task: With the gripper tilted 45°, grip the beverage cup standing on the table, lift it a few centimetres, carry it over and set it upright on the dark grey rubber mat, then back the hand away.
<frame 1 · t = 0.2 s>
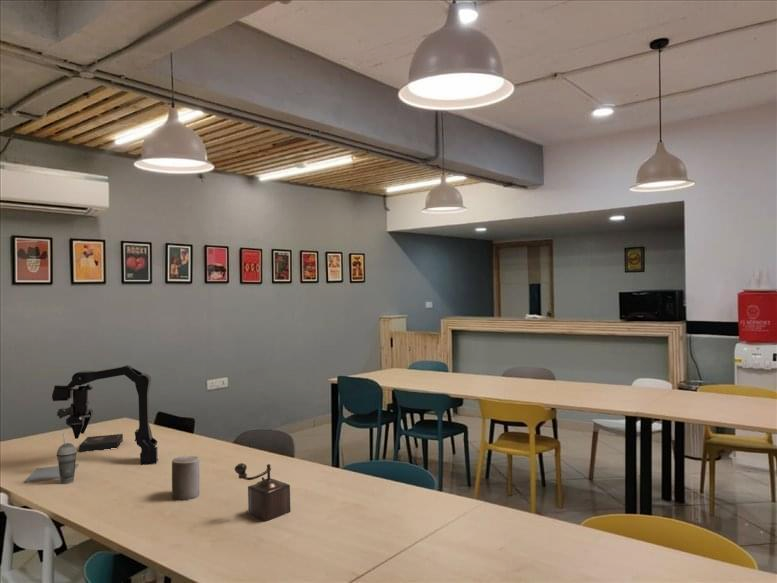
hand: (79, 436, 236), 14 cm above the table, tool pointing down, fingers open, 9 cm apart
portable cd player: (101, 447, 273), on the table
rubber mat: (52, 473, 231), on the table
pillar candle: (186, 496, 200), on the table
beverage cup: (67, 482, 219), on the table
manual coffee grinder: (262, 515, 181), on the table
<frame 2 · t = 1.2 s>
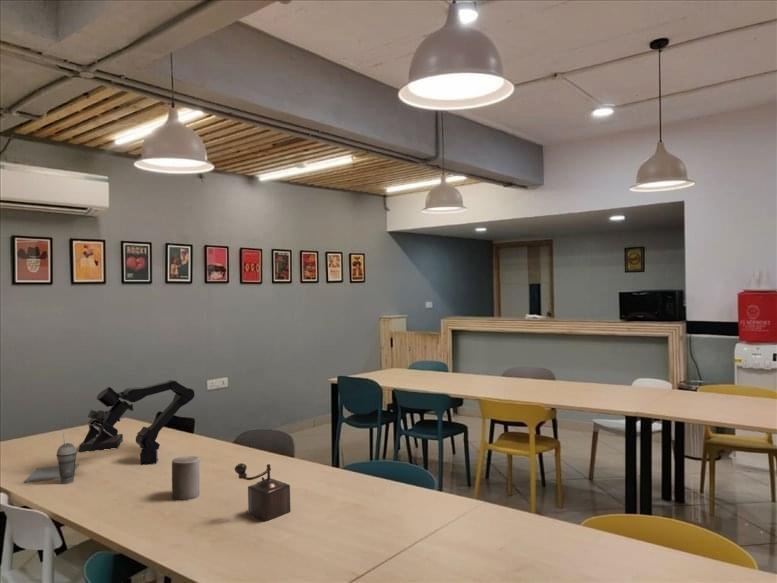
hand: (88, 444, 225), 13 cm above the table, tool tilted 45°, fingers open, 9 cm apart
nothing on the table moved.
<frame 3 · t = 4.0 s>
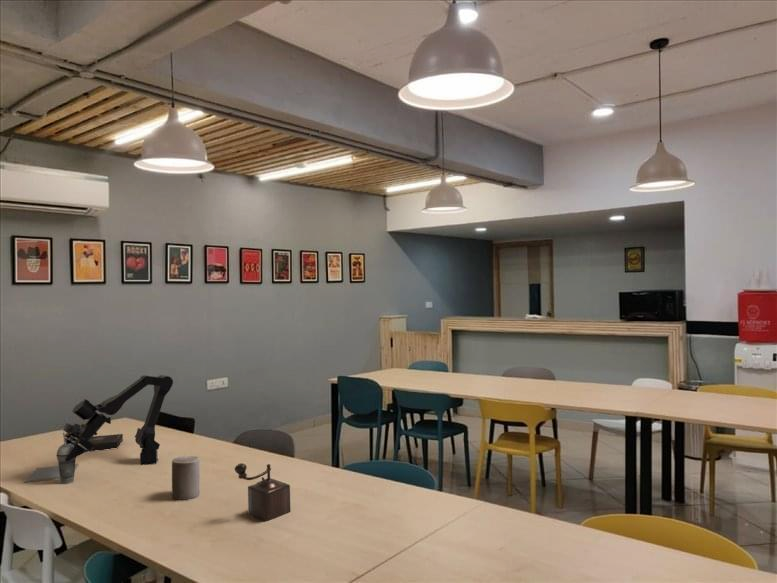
hand: (63, 459, 218), 10 cm above the table, tool tilted 45°, fingers closed on beverage cup, 7 cm apart
beverage cup: (67, 482, 219), on the table, touching gripper
everything else where it was.
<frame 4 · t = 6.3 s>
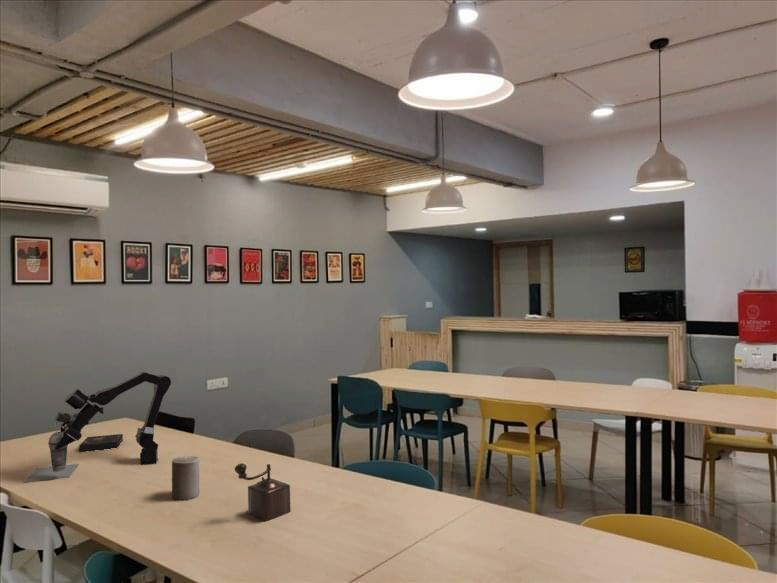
hand: (54, 447, 222), 13 cm above the table, tool tilted 45°, fingers closed on beverage cup, 7 cm apart
beverage cup: (59, 470, 223), point 4 cm above the table, touching gripper
everything else where it was.
when the fingers open (11 cm above the table, at t = 8.9 s): beverage cup stays where it is, resting on rubber mat.
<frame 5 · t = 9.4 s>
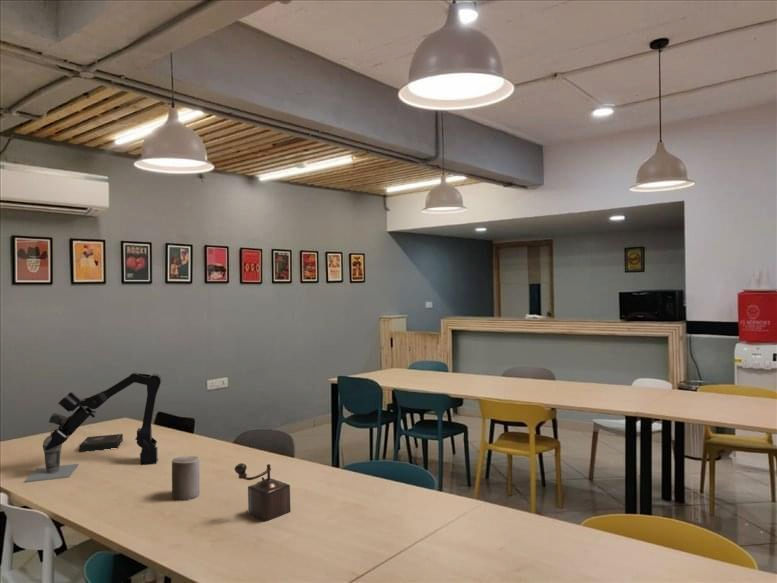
hand: (48, 447, 231), 11 cm above the table, tool tilted 45°, fingers open, 9 cm apart
beverage cup: (52, 472, 231), resting on rubber mat
everything else where it was.
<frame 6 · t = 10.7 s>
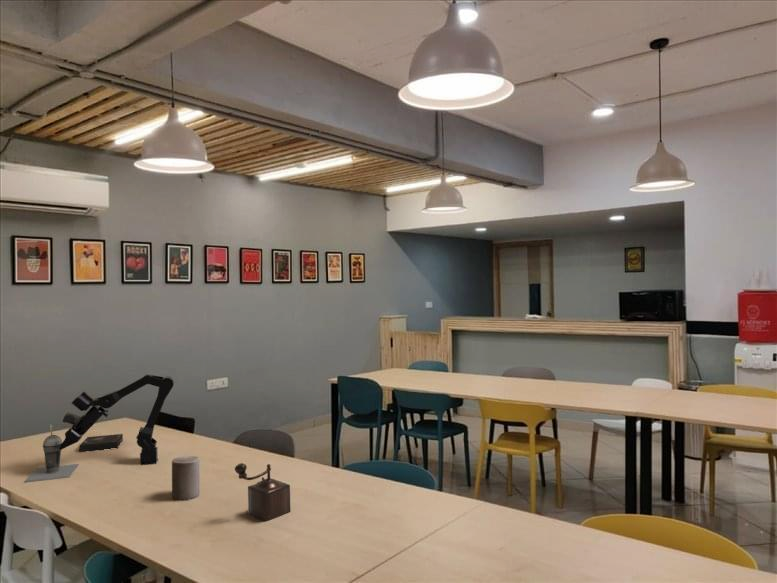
hand: (62, 446, 232), 11 cm above the table, tool tilted 45°, fingers open, 9 cm apart
nothing on the table moved.
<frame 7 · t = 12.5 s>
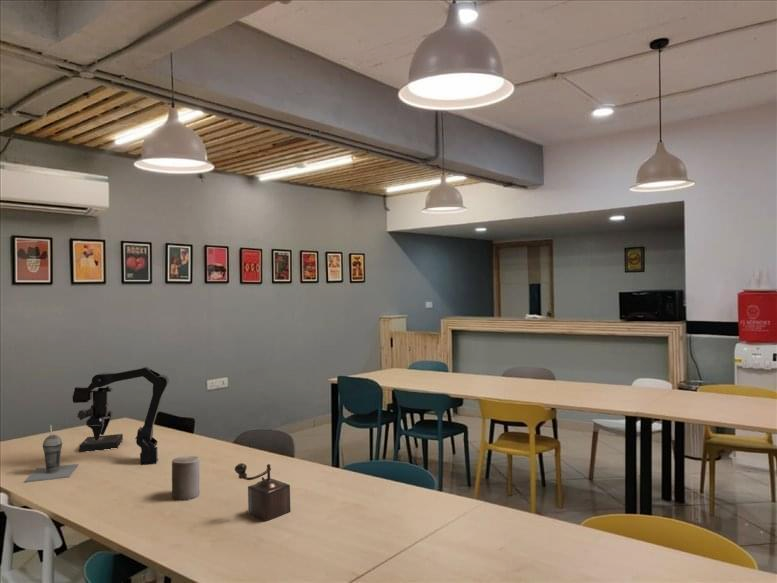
hand: (99, 437, 239), 13 cm above the table, tool pointing down, fingers open, 9 cm apart
nothing on the table moved.
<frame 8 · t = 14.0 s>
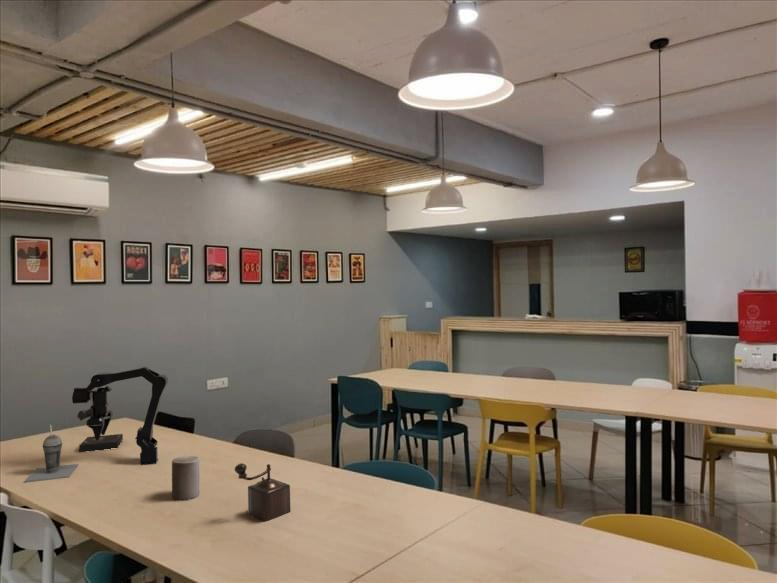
hand: (100, 437, 239), 13 cm above the table, tool pointing down, fingers open, 9 cm apart
nothing on the table moved.
at the end: beverage cup inside the target area on the rubber mat (0.1 cm from its centre), point 0.4 cm above the rubber mat's base; beverage cup tilted 0°; the gripper is holding nothing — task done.
